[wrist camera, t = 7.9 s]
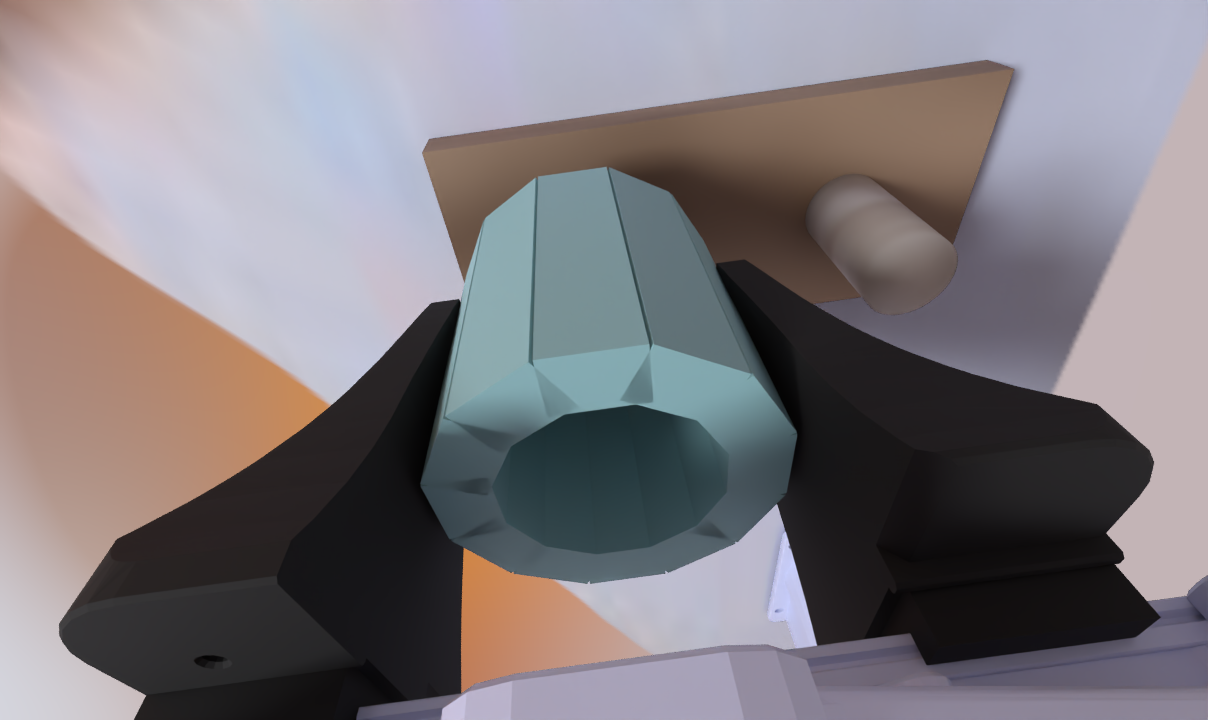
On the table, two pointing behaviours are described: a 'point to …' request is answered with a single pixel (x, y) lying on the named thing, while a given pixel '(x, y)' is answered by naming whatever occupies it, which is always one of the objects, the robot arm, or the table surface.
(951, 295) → the table surface
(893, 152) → the pin board
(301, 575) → the robot arm
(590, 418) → the sleeve
